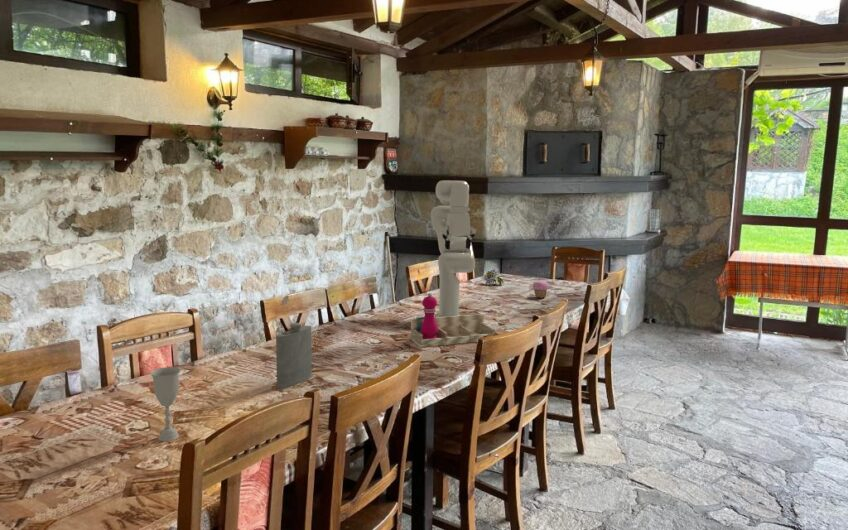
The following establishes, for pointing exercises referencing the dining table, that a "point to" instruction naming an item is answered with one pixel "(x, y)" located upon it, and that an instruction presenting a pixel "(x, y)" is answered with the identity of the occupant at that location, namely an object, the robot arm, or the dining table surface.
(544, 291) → the cupcake
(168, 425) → the chalice
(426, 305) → the pepper mill
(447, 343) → the rack
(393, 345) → the dining table surface
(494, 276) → the passion flower
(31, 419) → the dining table surface
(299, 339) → the hip flask
